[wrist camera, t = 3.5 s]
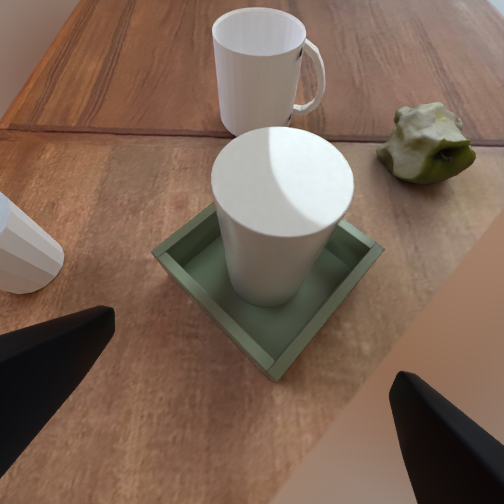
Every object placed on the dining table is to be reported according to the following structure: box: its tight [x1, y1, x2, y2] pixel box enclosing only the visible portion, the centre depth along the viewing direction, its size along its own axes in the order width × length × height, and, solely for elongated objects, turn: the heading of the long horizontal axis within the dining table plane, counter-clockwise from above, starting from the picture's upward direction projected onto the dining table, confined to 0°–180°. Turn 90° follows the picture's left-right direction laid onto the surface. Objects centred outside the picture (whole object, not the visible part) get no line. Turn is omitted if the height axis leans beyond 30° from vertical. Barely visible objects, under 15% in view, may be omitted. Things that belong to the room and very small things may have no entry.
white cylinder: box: [211, 127, 354, 307], centre depth 17 cm, size 7×7×12 cm
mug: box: [212, 7, 325, 137], centre depth 28 cm, size 12×9×9 cm
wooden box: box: [151, 202, 385, 382], centre depth 21 cm, size 13×13×5 cm
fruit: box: [376, 102, 476, 184], centre depth 27 cm, size 9×9×8 cm
